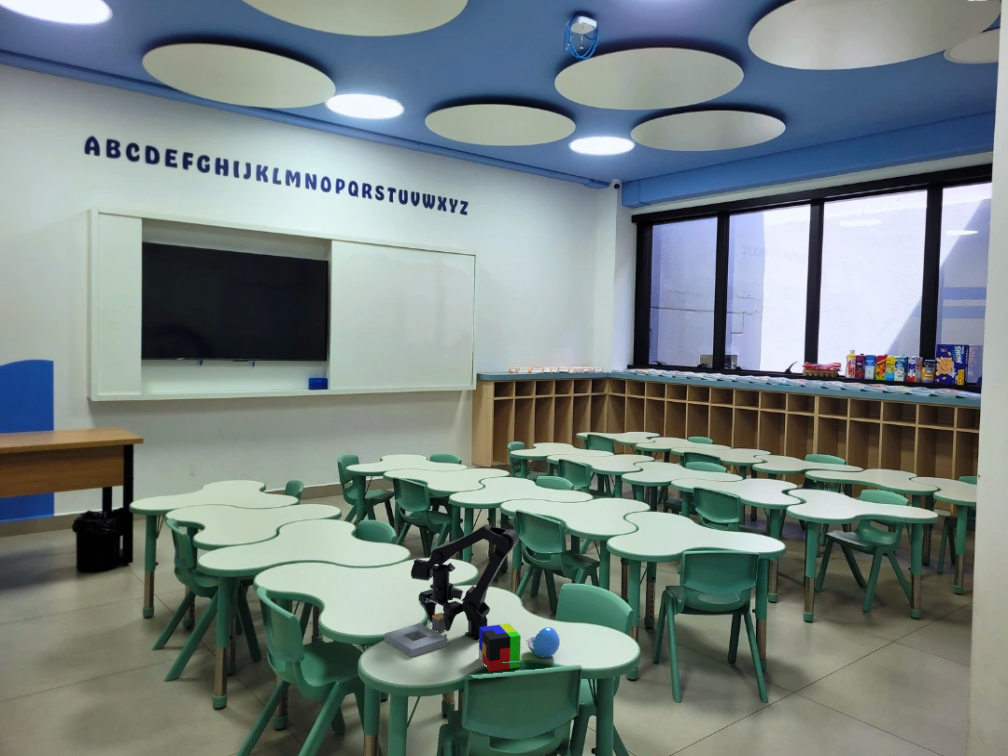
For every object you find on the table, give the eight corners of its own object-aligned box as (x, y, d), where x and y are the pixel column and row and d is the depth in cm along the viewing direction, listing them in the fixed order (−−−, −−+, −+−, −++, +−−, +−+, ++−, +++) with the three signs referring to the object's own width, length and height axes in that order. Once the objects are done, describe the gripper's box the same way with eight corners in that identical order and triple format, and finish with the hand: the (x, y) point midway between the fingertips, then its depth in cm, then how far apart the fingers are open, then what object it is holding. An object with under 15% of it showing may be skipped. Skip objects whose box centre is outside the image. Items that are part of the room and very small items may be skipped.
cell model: (543, 645, 233) (544, 616, 232) (565, 659, 222) (566, 629, 222) (518, 651, 227) (519, 622, 227) (540, 666, 217) (541, 636, 217)
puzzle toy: (478, 658, 222) (479, 627, 222) (508, 653, 226) (508, 623, 225) (489, 672, 213) (489, 639, 212) (519, 667, 216) (520, 635, 216)
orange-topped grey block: (448, 629, 243) (448, 615, 243) (438, 632, 241) (439, 618, 240) (441, 626, 246) (441, 612, 246) (432, 629, 244) (432, 615, 243)
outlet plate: (447, 645, 231) (447, 638, 231) (411, 657, 221) (412, 649, 221) (419, 630, 243) (419, 623, 242) (384, 640, 233) (384, 633, 233)
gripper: (476, 584, 241) (475, 628, 242) (443, 570, 255) (442, 612, 256) (450, 591, 234) (449, 637, 235) (418, 576, 248) (417, 620, 248)
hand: (440, 626), depth 244 cm, fingers open, 9 cm apart
